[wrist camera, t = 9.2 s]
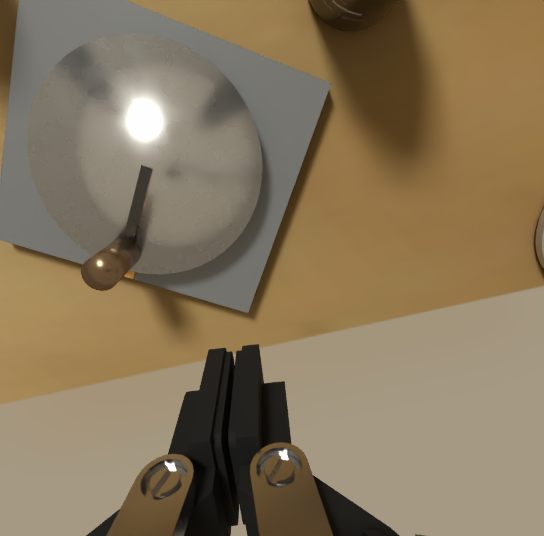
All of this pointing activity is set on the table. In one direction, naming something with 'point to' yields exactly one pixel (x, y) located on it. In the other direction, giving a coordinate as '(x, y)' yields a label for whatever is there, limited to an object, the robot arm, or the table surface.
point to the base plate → (239, 71)
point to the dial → (143, 156)
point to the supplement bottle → (351, 12)
